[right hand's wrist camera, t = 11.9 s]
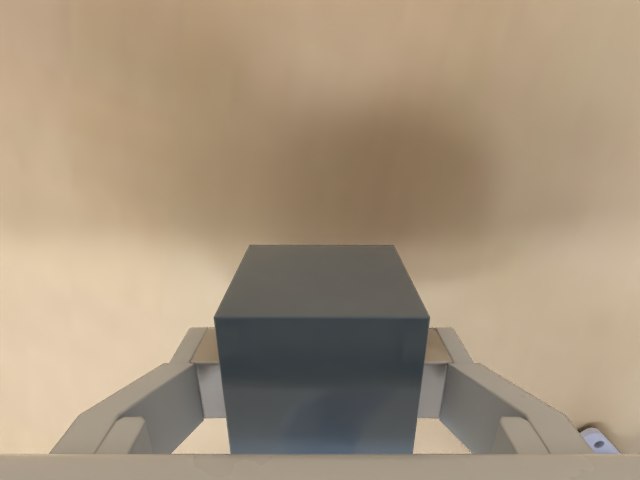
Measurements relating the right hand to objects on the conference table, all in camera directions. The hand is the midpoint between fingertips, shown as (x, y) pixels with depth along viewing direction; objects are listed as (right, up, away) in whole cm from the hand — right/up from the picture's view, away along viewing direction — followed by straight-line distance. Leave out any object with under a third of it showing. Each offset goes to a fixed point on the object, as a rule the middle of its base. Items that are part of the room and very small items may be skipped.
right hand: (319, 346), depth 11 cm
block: (0, +1, +2) cm, 2 cm away
